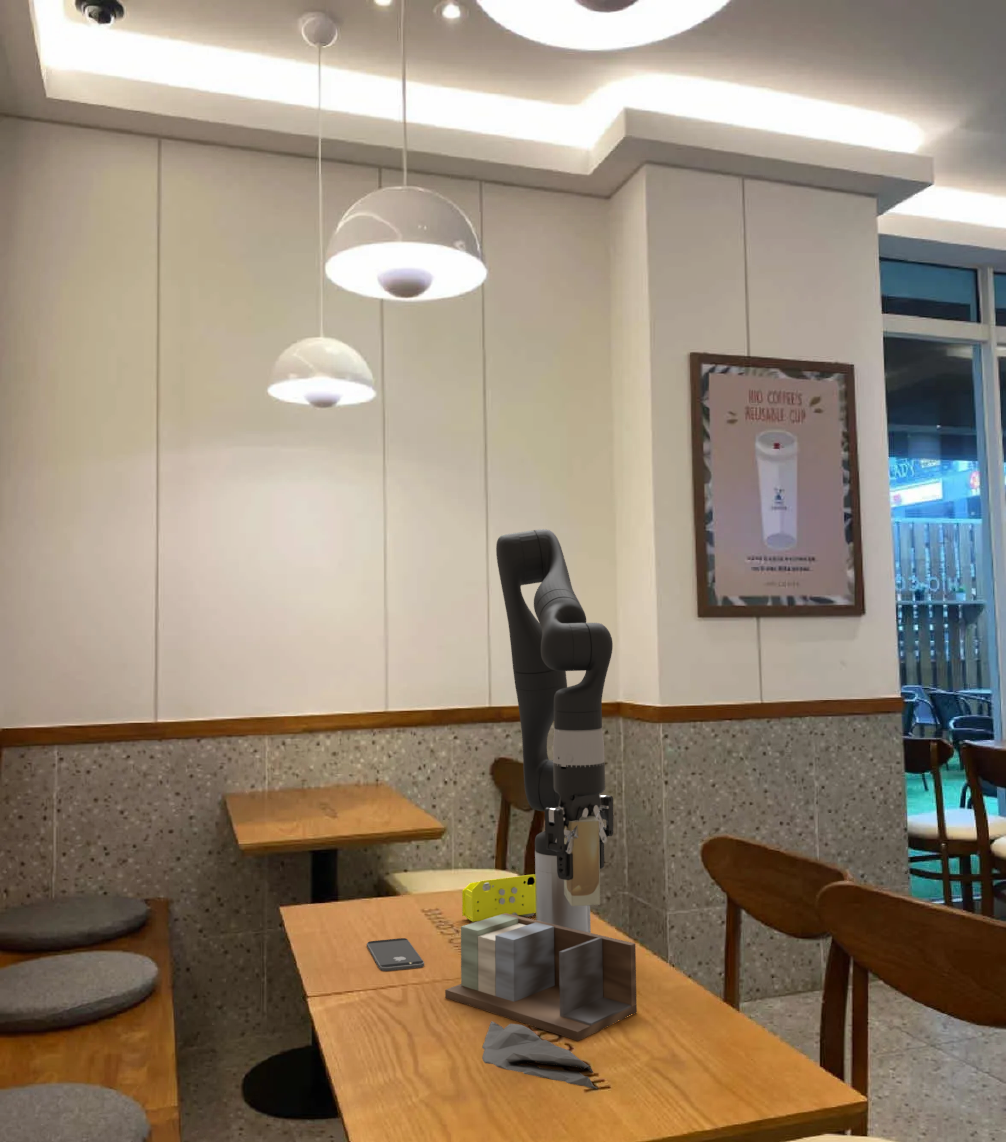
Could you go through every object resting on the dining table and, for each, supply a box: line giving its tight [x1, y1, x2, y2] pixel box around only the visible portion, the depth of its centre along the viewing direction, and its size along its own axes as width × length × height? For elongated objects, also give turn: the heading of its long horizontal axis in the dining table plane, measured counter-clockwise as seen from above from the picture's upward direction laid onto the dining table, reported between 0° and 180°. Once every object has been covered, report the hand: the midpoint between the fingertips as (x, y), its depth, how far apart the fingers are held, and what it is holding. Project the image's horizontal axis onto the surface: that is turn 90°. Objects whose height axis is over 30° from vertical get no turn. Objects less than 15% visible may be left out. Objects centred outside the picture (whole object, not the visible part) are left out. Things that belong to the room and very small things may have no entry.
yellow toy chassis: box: [461, 873, 536, 923], centre depth 202 cm, size 16×6×8 cm, turn 116°
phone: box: [366, 937, 425, 972], centre depth 178 cm, size 8×1×16 cm
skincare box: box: [564, 816, 601, 906], centre depth 147 cm, size 6×4×12 cm
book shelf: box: [444, 913, 638, 1042], centre depth 153 cm, size 14×26×10 cm, turn 48°
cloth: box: [481, 1020, 599, 1090], centre depth 135 cm, size 26×14×2 cm, turn 18°
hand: (581, 873), depth 147 cm, fingers closed on skincare box, 7 cm apart
